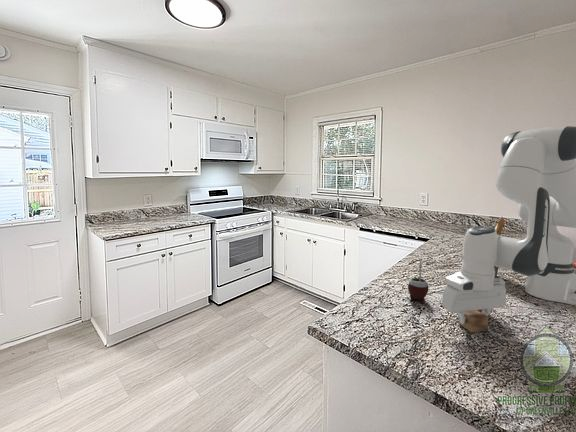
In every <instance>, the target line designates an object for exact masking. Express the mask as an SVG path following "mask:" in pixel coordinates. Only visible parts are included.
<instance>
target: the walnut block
mask: <svg viewBox="0 0 576 432" xmlns="http://www.w3.org/2000/svg"><path fill="white" fill-rule="evenodd" d="M464 316H465V318H467V319H468V321H467V324H461V323H460V322H459V316H457V317H458V318H457V324H458V325H460V326H461V327H463V328H464V329H466V330H467V331H469V332H470V333H478V332H485V331H488V325H489V323H488V322H489V315H488V316H486V315H484V314H483V313H481V312H479V311H477V310H473V311H466V313H465V314H464Z"/></svg>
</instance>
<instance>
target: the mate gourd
mask: <svg viewBox="0 0 576 432" xmlns="http://www.w3.org/2000/svg"><path fill="white" fill-rule="evenodd" d="M422 267H423V266H422V258H419V267H418V268H419V275H418V276H419V277H413V278H411V279H410V280H409V281H408V284H407V290H408V292H409V296H410V299H409V302H413V303H414V302H418V303H419V304H422V305H424V303H425V302H424V301H425V300H426V299H425V298H426V297H427V295H428V293H429V284H428V282H427V280H425V279H423V278H422Z"/></svg>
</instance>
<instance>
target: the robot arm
mask: <svg viewBox="0 0 576 432" xmlns="http://www.w3.org/2000/svg"><path fill="white" fill-rule="evenodd" d="M500 151H501V156H502V157H503V158H502V160H501V163H500V165H499V168H498V172H497V175H496V177H495V178H496V180H495V186H496V189H497V191H498V192H499V193H500V194H501V195H502V196H503V197H505V198H507V199H509V200H511V201H513V202H515V203H517V204H518V207H517V212H518V216H519V217H520V218H521V220H522V221H524V222H525V223H526V224H527V227H526V237H525V238H524V239H520V238H519V239H518V238H514V237H508V236H504V235H501V236H500V235H498V234H497V232H496V230H495V228H493V227H491V226H485V225H479V226H478V225H477V226H473V227H470V228H468V229H467V230H466V232H465V235H464V239H463V243H462V252H461V255H462V264H461V266H460V270H459V271H456V272H455V273H452V274H451V275H447V276H446V277H445V280H444V282H445V284H446V285H445V286H444V289H443V293H442V298H441V299H442V302H441V303H442V304H441V305H442V307H443V308H444V310H446V311H447V312H449V313H451V314H453V313H457V315H458V316H457V317H459V322H460V323H461V324H467V321H468V319H467V318H465V316H464V314H465V313H466V311H473V310H482V309H483V310H482V312H481V313H483V314H484V315H486V316H488V317H489V315H490V313H491V311H492V309H499V308H501V309H502V308H504V307H505V306H506V304H507V289H506V281H505V280H504V279H503V278H501V277H495V269H494V266H496V267H498V268H502V269H505V270H509V271H512V272H514V273H517V274H521V275H522V276H526V277H527V280H526V282H525V283H524V284H523V287H524V292H526V293H527V294H529V295H531V296H533V297H536V298H539V299H542V300H546V301H550V302H557V303H561V304H567V305H572V306H575V305H576V273H575V269H576V262H573V255H574V250H575V249H574V248H575V245H574V243H573V241H572V240H571V239H570V238H568V237H567V236H565V235H563V234H561V232H560V231H559V230H558V227H562V228H563V227H565V228H575V229H576V126H572V125H571V126H570V125H569V126H568V125H567V126H565V127H564V126H563V127H561V126H560V127H556V126H554V127H553V126H552V127H551V126H550V127H541V128H537V129H529V130H524V131H521V130H520V131H515V132H511V133H509V134H508V135H506V136H505V137H504V138H503V140H502V142H501V147H500ZM557 226H558V227H557Z"/></svg>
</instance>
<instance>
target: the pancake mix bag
mask: <svg viewBox="0 0 576 432" xmlns="http://www.w3.org/2000/svg"><path fill="white" fill-rule="evenodd" d="M504 223H505V219H504V217H503V216H501V217H500V218H499V219H498V221H497V224H496V226H495V228H494V229H495V230H496V232H497V234H498V235H500V236H502V232H503V229H504ZM494 269H495V278H497V277H498V273H499V267H496V266H494Z"/></svg>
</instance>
